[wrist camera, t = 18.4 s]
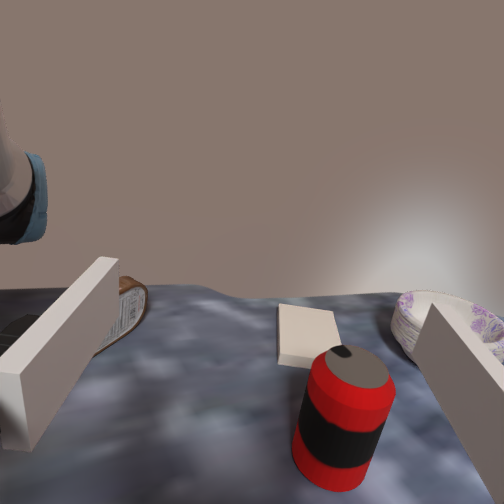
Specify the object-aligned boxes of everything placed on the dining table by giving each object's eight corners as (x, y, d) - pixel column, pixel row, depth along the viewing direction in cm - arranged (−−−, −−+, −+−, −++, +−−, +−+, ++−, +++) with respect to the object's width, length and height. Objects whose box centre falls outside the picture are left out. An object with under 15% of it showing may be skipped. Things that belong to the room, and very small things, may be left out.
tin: (134, 315, 55) (135, 265, 52) (151, 322, 54) (152, 272, 51) (43, 372, 43) (36, 311, 39) (62, 383, 42) (56, 322, 38)
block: (346, 363, 49) (332, 311, 61) (280, 353, 49) (279, 303, 61) (342, 376, 50) (329, 322, 62) (277, 366, 50) (276, 314, 62)
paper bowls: (371, 323, 62) (384, 282, 59) (457, 333, 63) (473, 293, 60) (406, 389, 48) (425, 340, 45) (515, 400, 49) (541, 353, 46)
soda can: (330, 418, 42) (355, 332, 38) (381, 474, 36) (418, 381, 32) (276, 441, 38) (297, 349, 34) (323, 509, 33) (356, 409, 28)
